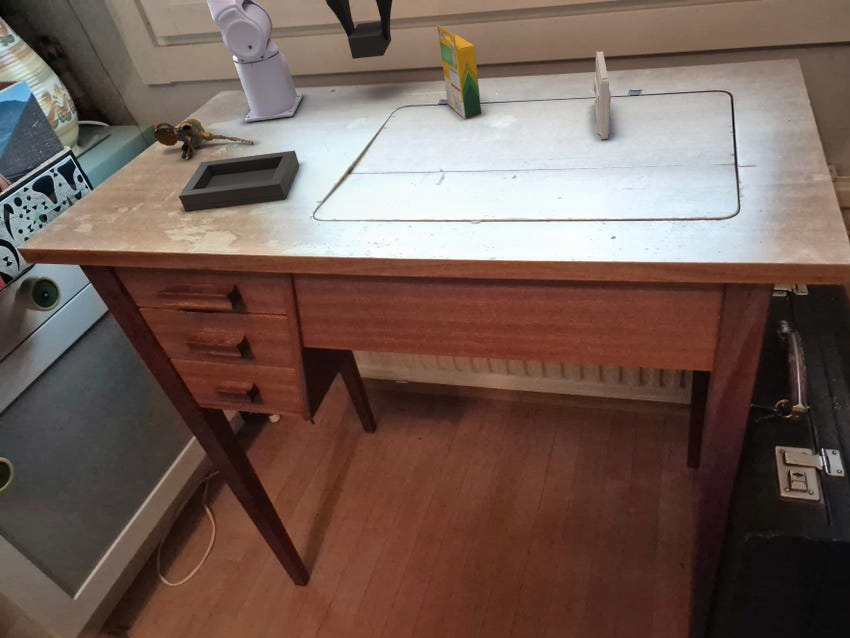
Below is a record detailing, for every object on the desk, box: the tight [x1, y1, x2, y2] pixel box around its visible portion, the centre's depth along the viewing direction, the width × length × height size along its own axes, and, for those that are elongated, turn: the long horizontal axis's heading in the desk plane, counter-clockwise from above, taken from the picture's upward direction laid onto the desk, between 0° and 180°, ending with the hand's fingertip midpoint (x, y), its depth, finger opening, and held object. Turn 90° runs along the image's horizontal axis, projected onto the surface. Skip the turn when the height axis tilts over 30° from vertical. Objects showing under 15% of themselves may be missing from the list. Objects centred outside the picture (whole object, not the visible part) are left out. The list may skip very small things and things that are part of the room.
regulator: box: [153, 118, 254, 160], centre depth 100 cm, size 8×4×15 cm
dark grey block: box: [347, 20, 392, 60], centre depth 104 cm, size 8×5×3 cm, turn 177°
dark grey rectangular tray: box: [178, 150, 300, 212], centre depth 88 cm, size 10×13×2 cm
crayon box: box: [436, 24, 482, 120], centre depth 96 cm, size 7×3×12 cm, turn 23°
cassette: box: [593, 49, 612, 140], centre depth 88 cm, size 12×2×8 cm, turn 176°
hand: (370, 39), depth 105 cm, fingers closed on dark grey block, 5 cm apart
